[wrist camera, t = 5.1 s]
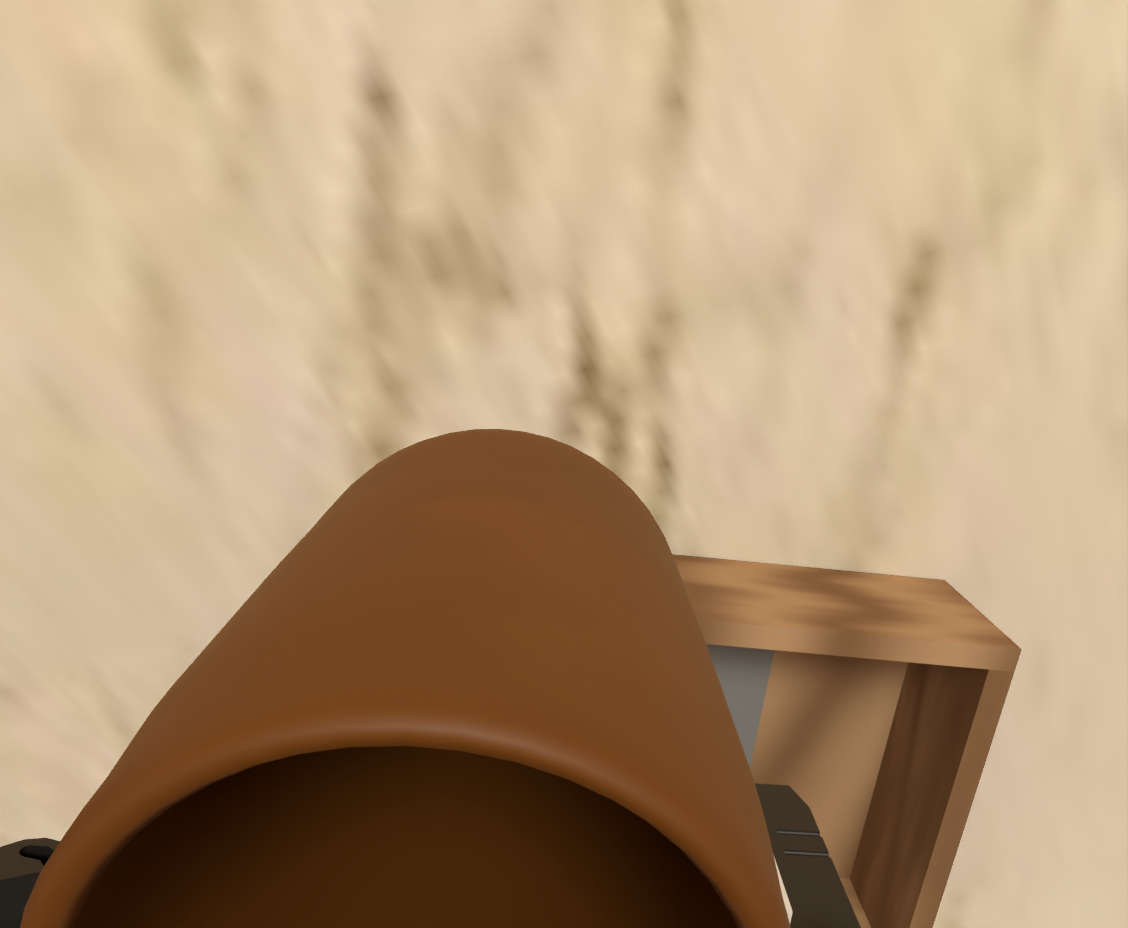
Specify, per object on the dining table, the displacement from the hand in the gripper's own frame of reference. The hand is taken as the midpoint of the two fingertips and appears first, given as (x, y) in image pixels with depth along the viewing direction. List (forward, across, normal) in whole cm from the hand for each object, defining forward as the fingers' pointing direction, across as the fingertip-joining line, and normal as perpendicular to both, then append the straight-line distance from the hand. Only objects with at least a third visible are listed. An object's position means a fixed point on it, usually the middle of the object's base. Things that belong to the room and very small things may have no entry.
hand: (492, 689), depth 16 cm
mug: (+1, 0, 0) cm, 1 cm away
